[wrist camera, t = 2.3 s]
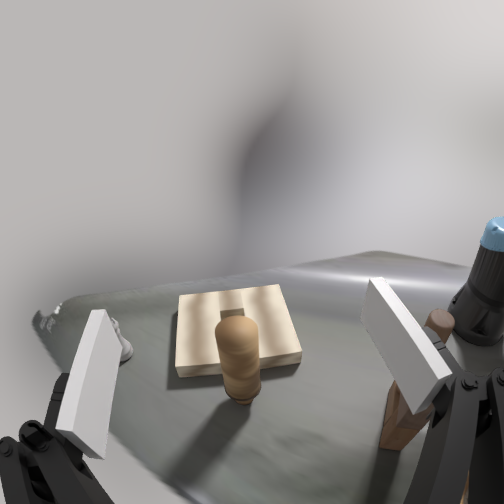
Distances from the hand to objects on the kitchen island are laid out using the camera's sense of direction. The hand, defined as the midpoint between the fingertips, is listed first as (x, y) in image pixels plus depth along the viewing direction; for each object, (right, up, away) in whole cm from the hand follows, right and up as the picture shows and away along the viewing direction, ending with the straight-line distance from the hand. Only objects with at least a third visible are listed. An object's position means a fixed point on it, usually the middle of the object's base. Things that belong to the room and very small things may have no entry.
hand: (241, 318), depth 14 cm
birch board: (-3, -12, +39) cm, 41 cm away
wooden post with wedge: (+22, -22, +21) cm, 37 cm away
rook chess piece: (-23, -16, +34) cm, 44 cm away
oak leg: (-1, -19, +27) cm, 33 cm away
